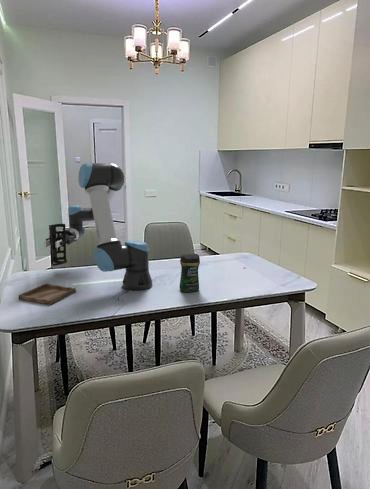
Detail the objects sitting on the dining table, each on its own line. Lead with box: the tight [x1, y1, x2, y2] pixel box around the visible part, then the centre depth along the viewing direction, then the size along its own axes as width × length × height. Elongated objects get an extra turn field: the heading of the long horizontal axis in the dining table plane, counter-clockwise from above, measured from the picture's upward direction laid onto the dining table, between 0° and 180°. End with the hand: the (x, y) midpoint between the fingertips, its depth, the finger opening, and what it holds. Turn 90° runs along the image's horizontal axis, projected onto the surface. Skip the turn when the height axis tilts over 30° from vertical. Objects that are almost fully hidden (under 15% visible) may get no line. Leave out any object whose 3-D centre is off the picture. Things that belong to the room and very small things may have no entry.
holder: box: [48, 223, 68, 267], centre depth 189 cm, size 11×8×20 cm
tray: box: [17, 283, 77, 306], centre depth 175 cm, size 18×18×2 cm
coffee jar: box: [179, 253, 201, 293], centre depth 183 cm, size 10×8×19 cm
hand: (50, 244), depth 184 cm, fingers closed on holder, 5 cm apart
